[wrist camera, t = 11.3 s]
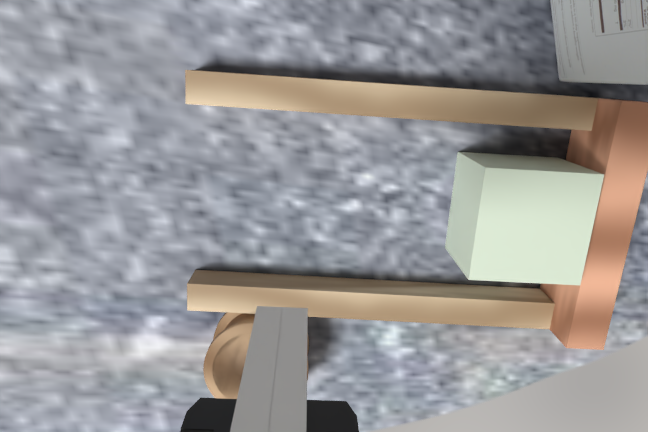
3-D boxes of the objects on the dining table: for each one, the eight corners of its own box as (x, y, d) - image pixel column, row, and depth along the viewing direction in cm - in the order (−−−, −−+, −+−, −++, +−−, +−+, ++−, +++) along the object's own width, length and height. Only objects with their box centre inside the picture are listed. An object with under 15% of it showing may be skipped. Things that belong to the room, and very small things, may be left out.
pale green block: (457, 151, 35) (485, 167, 29) (557, 157, 35) (604, 174, 29) (444, 247, 37) (468, 279, 31) (539, 252, 37) (580, 285, 31)
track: (194, 69, 33) (174, 70, 28) (614, 99, 34) (664, 103, 29) (195, 294, 37) (178, 328, 33) (567, 314, 38) (603, 349, 34)
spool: (214, 296, 38) (202, 322, 34) (310, 300, 38) (310, 326, 34) (215, 381, 40) (204, 414, 36) (307, 384, 40) (306, 417, 36)
